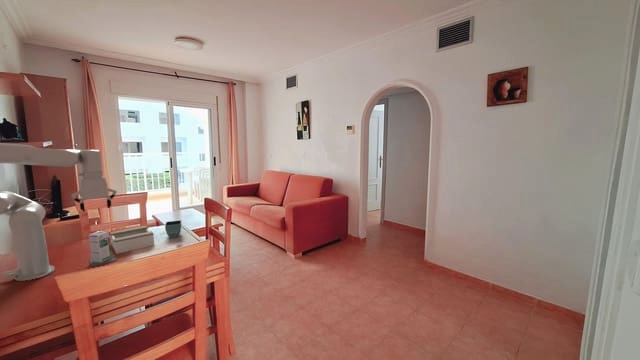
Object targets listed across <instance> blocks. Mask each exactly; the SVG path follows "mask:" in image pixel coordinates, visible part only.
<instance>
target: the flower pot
mask: <svg viewBox="0 0 640 360" xmlns="http://www.w3.org/2000/svg"><path fill="white" fill-rule="evenodd" d="M164 228H165V232H166V235H167V237H168V238H170V239H171V238H179V237H180V235H181V232H182V231H181V230H182V220H181V219H180V220H172V221H166V222H165V224H164Z"/></svg>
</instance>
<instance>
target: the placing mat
mask: <svg viewBox="0 0 640 360" xmlns="http://www.w3.org/2000/svg"><path fill="white" fill-rule="evenodd" d="M111 254H112V258H110V259H108V260H105V261H103V262H93V261H92V258H90V259H89V263H90V266H91V267H97V266H100V265H101V266H102V265H105V264H109V263H113V262H116V261H118V259H117V257H116V255H115V253H111Z"/></svg>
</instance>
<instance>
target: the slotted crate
mask: <svg viewBox="0 0 640 360" xmlns="http://www.w3.org/2000/svg"><path fill="white" fill-rule="evenodd" d="M109 236H110V241H111V242H110V245H111V246H112V249H113V250H114V253H115V254H116V255H118V254H123V253H127V252H131V251H136V250H139V249H144V248H149V247H152V246H155V234H154V232H153V231H151V230H150V229H149V228H148V226H147V225H141V226H138V227H137V226H136V227H131V228H126V229H121V230H114V231H111V232H109Z"/></svg>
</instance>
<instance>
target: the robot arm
mask: <svg viewBox="0 0 640 360" xmlns="http://www.w3.org/2000/svg"><path fill="white" fill-rule="evenodd" d="M102 162H103V161H102V154H101V150H99V149H73V148H70V149H69V148H68V149H61V148H60V149H58V148H45V147H39V146H38V147H36V146H32V145H30V144H20V143H6V142H5V143H4V142H2V143H1V142H0V164H13V165H27V166H43V167H45V166H46V167H67V168H68V167H73V166H75V165H81V173H78V177H81V179H80V190H78V191H76V192H74V193H72V194H71V195H70V197H71V198H72V199H73V200H74V201H75V202H77V203H78V204H79V209H80V210H82V212H85V203H84V202H85V200H94V199H95V200H96V199H103V198H106V206H107V209H110V208H111V207H112V199H114V198H115V197H116V195H117V192H118V191H117V190H115V189H112V188H109V187H108V184H107V183H108V182H107V179H106V177H104V175H103V172H104V171H103V163H102ZM109 192H111V195H110V196H109ZM79 195H80V197H81V198H78V197H77V196H79ZM46 213H47V212H46V209H45V207H44V206H43V205H42V204H40V203H38V202H36V201H33V200H31V199H30V198H27V197H25V196H22V195H19V194H18V193H15V192H12V191H9V190H0V216H3V215H6V216H8V225H9V226H8V227H9V229H10V232H11V235H12V240H13V244H14V251H15V257H16V262H17V268H14V269H13V270H7V271H3V277H7V278H8V277H14V280H15V281H16V282H17V281H18V282H26V280H27V281H31V280H32V279H33V280H35V279H36V278H37V279H40V278H43V277H46V276H48V275H49V274H50V275H51V274H52V273H53V272H55V269H56V268H55V266H53V265H50V260H49V254H48V245H47V241H46V235H45V229H44V225H43V220H44V219H45V216H46ZM33 280H32V281H33Z"/></svg>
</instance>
